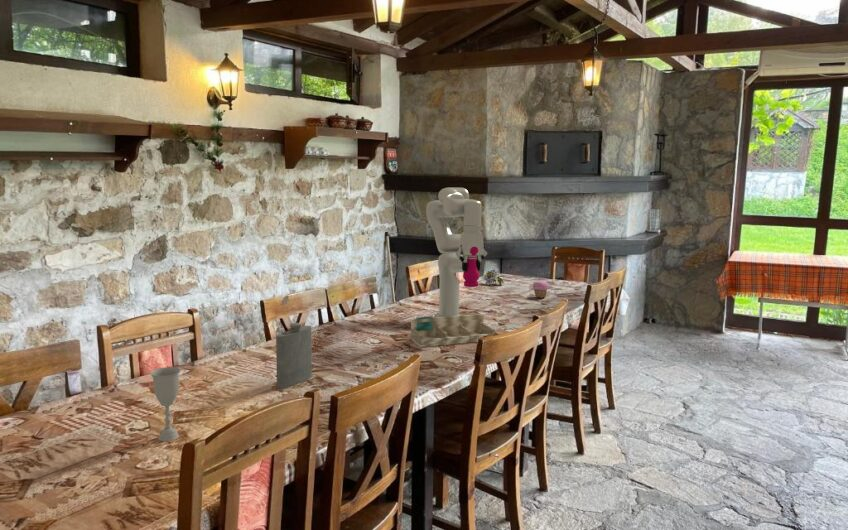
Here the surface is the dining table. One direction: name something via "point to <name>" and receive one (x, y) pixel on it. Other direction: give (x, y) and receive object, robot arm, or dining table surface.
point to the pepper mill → (471, 269)
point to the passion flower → (492, 277)
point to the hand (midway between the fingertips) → (471, 270)
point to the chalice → (166, 396)
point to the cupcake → (540, 288)
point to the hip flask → (293, 356)
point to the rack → (448, 330)
